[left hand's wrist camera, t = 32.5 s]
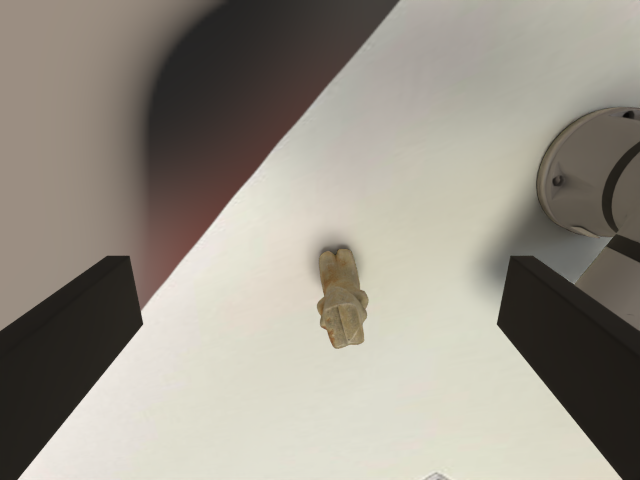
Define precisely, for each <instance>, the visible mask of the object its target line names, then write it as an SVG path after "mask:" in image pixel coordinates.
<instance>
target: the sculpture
mask: <svg viewBox="0 0 640 480" xmlns="http://www.w3.org/2000/svg"><path fill="white" fill-rule="evenodd" d="M319 268H320V277H321V283H322V288H323V293H324V297H323V298H322V299H321V300H320V301H319V302H318V304H317V309H318V312H319V314H320V315H321V319H320V326H321V327H322V328H324V329H326V330H327V332H328V335H329V339H330V341H331V343H332V345H333V347H334V348H336V349H339V348H343V347H346V346H348V345H358V344H361V343H363V342H364V332H363V326H362V324H363V322H364V320H365V319H366V318H367V312H366V310H365V309H366V307H367V305H368V297H367V294H366V293H365V291H362V290H360V283H359V277H358V273H357V268H356V264H355V261H354V258H353V254H352V252H351V251H350V250H348V249H339V250H338V251H337V254H336V255H334V254H333V253H332V252H330V251H326V252H324V253H323V254H321V256H320V258H319Z"/></svg>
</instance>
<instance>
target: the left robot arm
mask: <svg viewBox="0 0 640 480" xmlns="http://www.w3.org/2000/svg"><path fill="white" fill-rule="evenodd" d="M537 192H538V198H539V201H540V204H541V207H542V208H543V210H544V212H545V213H546V215H547V216H548V217H549V218H550V219H551V220H552V221H553V222H555V223H556V224H558V225H559V226H561V227H563V228H565V229H567V230H569V231H571V232H574V233H577V234H580V235H585V236H588V237H594V238H600V237H598V236H605V237H613V238H612V239H611V241H610V242H609V243H608V244H607V246H606V247H605V248H604V249H603V250H602V252H601V253H600V254H599V255H598V256H597V258H596V259H595V260H594V261H593V263H592V264H591V265H590V266H589V267H588V269H587V270H586V271H585V272H584V273H583V275H582V276H581V277H580V278H579V279H578V281H577V282H576V283H575V284H572V283H571V282H569V281H568V280H566V279H565V278H564V277H562V276H561V275H559V274H558V273H556V272H555V271H554V270H552V269H551V268H549V267H548V266H547V265H545V264H544V263H542V262H541V261H539V260H538V259H537V258H535V257H534V256H510V261H509V266H508V271H507V276H506V281H505V286H504V291H503V296H502V301H501V306H500V311H499V316H498V321H497V325H498V326H499V328H500V329H501V330H502V331H503V333H504V334H505V335H506V336H507V337H508V339H509V340H510V341H511V342H512V344H513V345H514V346H515V347H516V349H517V350H518V351H519V352H520V354H521V355H522V356H523V357H524V358H525V360H526V361H527V362H528V363H529V365H530V366H531V367H532V368H533V370H534V371H535V372H536V373H537V375H538V376H539V377H540V378H541V379H542V381H543V382H544V383H545V384H546V386H547V387H548V388H549V389H550V391H551V392H552V393H553V394H554V396H555V397H556V398H557V399H558V400H559V402H560V403H561V404H562V405H563V407H564V408H565V409H566V410H567V412H568V413H569V414H570V415H571V417H572V418H573V419H574V420H575V421H576V423H577V424H578V425H579V426H580V428H581V429H582V430H583V431H584V433H585V434H586V435H587V436H588V438H589V439H590V440H591V441H592V442H593V444H594V445H595V446H596V447H597V449H598V450H599V451H600V452H601V454H602V455H603V456H604V457H605V459H606V460H607V461H608V462H609V464H610V465H611V466H612V467H613V468H614V470H615V471H616V472H617V473H618V475H619V476H620V477H621V478H622V480H640V108H629V107H618V108H606V109H602V110H598V111H595V112H592V113H590V114H588V115H585V116H584V117H582V118H580V119H578V120H577V121H575V122H574V123H572V124H571V125H570V126H568V127H567V128H566V129H565V130H564V131H563V132H562V133H561V134H560V135H559V136H558V137H557V138H556V139H555V140H554V142H553V143H552V144H551V146H550V147H549V149H548V151H547V152H546V154H545V156H544V158H543V160H542V163H541V166H540V169H539V173H538V179H537ZM142 325H143V321H142V316H141V311H140V306H139V301H138V296H137V291H136V286H135V281H134V276H133V271H132V266H131V261H130V256H106V257H105V258H103V259H102V260H101V261H99V262H98V263H96V264H95V265H93V266H92V267H91V268H89V269H88V270H86V271H85V272H84V273H82V274H81V275H79V276H78V277H76V278H75V279H74V280H72V281H71V282H69V283H68V284H67V285H65V286H64V287H62V288H61V289H59V290H58V291H57V292H55V293H54V294H52V295H51V296H50V297H48V298H47V299H45V300H44V301H42V302H41V303H40V304H38V305H37V306H35V307H34V308H33V309H31V310H30V311H28V312H27V313H25V314H24V315H23V316H21V317H20V318H18V319H17V320H16V321H14V322H13V323H11V324H10V325H8V326H7V327H5V328H4V329H3V330H1V331H0V480H18V478H19V477H20V476H21V475H22V473H23V472H24V471H25V470H26V468H27V467H28V466H29V465H30V464H31V462H32V461H33V460H34V459H35V457H36V456H37V455H38V454H39V452H40V451H41V450H42V449H43V447H44V446H45V445H46V444H47V442H48V441H49V440H50V439H51V438H52V436H53V435H54V434H55V433H56V431H57V430H58V429H59V428H60V426H61V425H62V424H63V423H64V421H65V420H66V419H67V418H68V417H69V415H70V414H71V413H72V412H73V410H74V409H75V408H76V407H77V405H78V404H79V403H80V402H81V400H82V399H83V398H84V397H85V396H86V394H87V393H88V392H89V391H90V389H91V388H92V387H93V386H94V384H95V383H96V382H97V381H98V379H99V378H100V377H101V376H102V375H103V373H104V372H105V371H106V370H107V368H108V367H109V366H110V365H111V363H112V362H113V361H114V360H115V358H116V357H117V356H118V355H119V354H120V352H121V351H122V350H123V349H124V347H125V346H126V345H127V344H128V342H129V341H130V340H131V339H132V337H133V336H134V335H135V334H136V333H137V331H138V330H139V329H140V328H141V326H142Z"/></svg>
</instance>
